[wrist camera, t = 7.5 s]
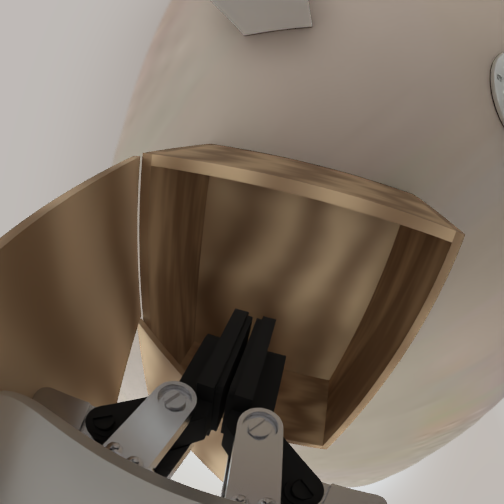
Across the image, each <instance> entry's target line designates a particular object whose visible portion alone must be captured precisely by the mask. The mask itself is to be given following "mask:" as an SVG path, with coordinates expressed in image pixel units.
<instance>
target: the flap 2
mask: <svg viewBox="0 0 504 504" xmlns="http://www.w3.org/2000/svg"><path fill="white" fill-rule="evenodd" d="M138 335H139V343H140V350H141V356H142V363H143V369H144V374H145V380H146V385H147V390H148V395H150V394H151V393H152V392H153V391H154V390H155V389H156V387H158V386H159V385H160V384H162V383H165V382H168V381H180V379H181V377H182V376H183V374H184V372H185V370H184V369H183V368H182V367H181V365H180V364H179V363H178V362H177V361H176V360H175V359H174V358H173V356H172V355H171V354H170V353H169V352H168V351H167V349H166V348H165V347H164V346H163V345H162V343H161V342H160V341H159V340H158V339H157V337H156V336H155V335H154V334H153V332H152V331H151V330H150V329H149V327H148V326H147V325H146V324H145V322H144V321H143V320H142V319H140V320H139V323H138ZM223 416H224V414H223ZM222 422H223V417H222V419H221V422H220V424H219V427H218V429H217V431H214V430H211V432H210V435H209V436H207V435H206V437H205V439H204V440H201V441H198V442H195V444H194V446H193V448H192V449H191V451H192V452H194V454H195V455H196V456H197V457H198V458H199V459H200V460H201V461H202V462H203V463H204V464H205V465H206V466H207V467H208V468H209V469H210V470H211V471H212V472H213V473H214V474H215V475H216V476H217V477H218V478H219V479H220V480H221V481H222V482H223V481H224V475H225V469H226V463H227V457H228V455H227V453H226V452H225V450H224V449H223V447H222V445H221V443H222V439H223V433H221V427H222Z"/></svg>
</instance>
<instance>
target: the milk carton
mask: <svg viewBox="0 0 504 504" xmlns="http://www.w3.org/2000/svg"><path fill="white" fill-rule="evenodd" d="M210 1H211V2H212V3H213V4H214V5H215V6H216V7H217V8H218V9H219V10H220V11H221V12H222V13H223V14H224V15H225V16H226V17H227V18H228V19H229V20H230V21H231V22H232V23H233V24H234V25H235V26H236V27H237V28H238V29H239V31H240V32H241V33H242V34H243V35H250V34H256V33H262V32H268V31H275V30H283V29H291V28H302V27H312V20H311V14H310V8H309V2H308V0H210Z"/></svg>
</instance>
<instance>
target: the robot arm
mask: <svg viewBox="0 0 504 504" xmlns="http://www.w3.org/2000/svg"><path fill="white" fill-rule="evenodd" d="M491 89H492V95H493V99H494V103H495V106H496V109H497V112H498V114H499V117H500V119H501V121H502V123H503V125H504V52H503V53H501V54H499V55H498V56H497V57H496V58H495V60H494V62H493V65H492V68H491ZM248 315H249V312H247V311H243V310H240V309H235V310H234V312H233V314H232V315H231V317H230V319H229V321H228V323H227V325H226V327H225V329H224V331H223V333H222V335H221V337H217V336H214V335H211V334H207V335H206V337H205V338H204V340H203V341H202V343H201V345H200V347H199V348H198V350H197V352H196V353H195V355H194V357H193V359H192V360H191V362H190V364H189V365H188V367H187V369H186V371H185V372H184V374H183V376H182V377H181V379H180V381H168V382H165V383H162V384H160V385H159V386H158V387H156V389H155V390H154V391H153V392H152V393H151V394H150V395H149V396H148V397H145V398H140V399H135V400H130V401H125V402H120V403H114V404H109V405H102V406H98V407H95V406H92V405H91V403H89V402H86V401H84V400H81V399H78V398H76V397H73V396H70V395H68V394H65V393H63V392H61V391H58V390H56V389H53V388H50V387H43V388H41V389H39V390H37V392H36V393H35V394H34V396H33V398H32V399H31V398H29V397H27V396H25V395H22V394H20V393H16V392H13V391H5V390H3V391H0V504H387V502H386V500H385V499H384V498H383V497H381V496H378V495H374V494H370V493H365V492H361V491H357V490H353V489H349V488H346V487H342V486H339V485H335V484H331V485H329V484H326V483H323V482H321V481H320V479H319V478H318V477H317V476H316V475H315V474H314V472H313V471H312V470H311V469H310V468H309V467H308V466H307V464H306V463H305V462H304V461H303V460H302V459H301V457H300V456H299V455H298V454H297V453H296V452H295V450H294V449H293V448H292V447H291V446H290V444H289V443H288V442H287V441H286V439H285V438H284V437H283V423H282V421H281V419H280V417H279V416H278V415H277V414H276V413H274V409H275V405H276V401H277V396H278V392H279V388H280V383H281V379H282V374H283V370H284V365H285V360H286V356H285V355H281V354H277V353H273V352H269V351H268V347H269V344H270V340H271V337H272V333H273V330H274V326H275V323H276V319H273V318H269V317H265V316H263V318H262V319H259V318H257V319H256V322H255V324H254V327H253V330H252V332H251V335H250V337H249V334H250V329H251V325H252V320H253V317H251V316H248ZM248 338H249V340H248ZM223 414H224V416H223ZM222 417H223V422H222V427H221V433H223V439H222V443H221V445H222V447H223V449H224V450H225V452H226V453H227V455H228V457H227V463H226V469H225V475H224V481H223V488H222V493H221V497H219V496H216V495H212V494H209V493H206V492H203V491H200V490H197V489H194V488H191V487H189V486H186V485H183V484H181V483H178V482H176V481H173V480H171V479H170V478H171V477H172V475H173V474H174V473H175V471H176V470H177V468H178V467H179V466H180V465H181V463H182V462H183V460H184V459H185V457H186V456H187V455H188V453H189V452H190V450H191V449H192V448H193V446H194V444H195V442H198V441H201V440H204V439H205V437H206V435H207V436H209V435H210V432H211V430H214V431H217V429H218V427H219V424H220V422H221V419H222Z"/></svg>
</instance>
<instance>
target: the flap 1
mask: <svg viewBox="0 0 504 504" xmlns="http://www.w3.org/2000/svg"><path fill="white" fill-rule="evenodd" d="M139 164H140V156H133V157H130V158H128V159H126V160H124V161H122V162H120V163H118V164H116V165H114V166H112V167H110V168H108V169H106V170H105V171H103V172H101V173H99V174H97V175H95V176H94V177H92V178H90V179H88V180H86V181H84V182H83V183H81V184H79V185H78V186H76V187H74V188H72V189H71V190H69V191H67V192H66V193H64V194H63V195H61V196H59V197H58V198H56V199H55V200H53V201H52V202H50V203H48V204H47V205H45V206H44V207H42V208H41V209H39V210H38V211H36V212H35V213H33V214H32V215H31V216H29V217H28V218H26V219H25V220H23V221H22V222H21V223H19V224H18V225H17V226H15V227H14V228H13V229H11V230H10V231H9V232H7V233H6V234H5V235H3V236H2V237H1V238H0V391H3V390H5V391H13V392H16V393H20V394H22V395H25V396H27V397H29V398H31V399H32V398H33V396H34V394H35V393H36V392H37V390H39V389H41V388H43V387H50V388H53V389H56V390H58V391H61V392H63V393H65V394H68V395H70V396H73V397H76V398H78V399H81V400H84V401H86V402H89V403H91V405H92V406H95V407H98V406H102V405H109V404H114V403H117V400H118V396H119V392H120V388H121V384H122V380H123V376H124V372H125V368H126V365H127V361H128V357H129V354H130V350H131V347H132V343H133V340H134V336H135V333H136V330H137V327H138V323H139V320H140V317H141V308H140V295H139V279H138V253H137V205H138V180H139Z"/></svg>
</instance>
